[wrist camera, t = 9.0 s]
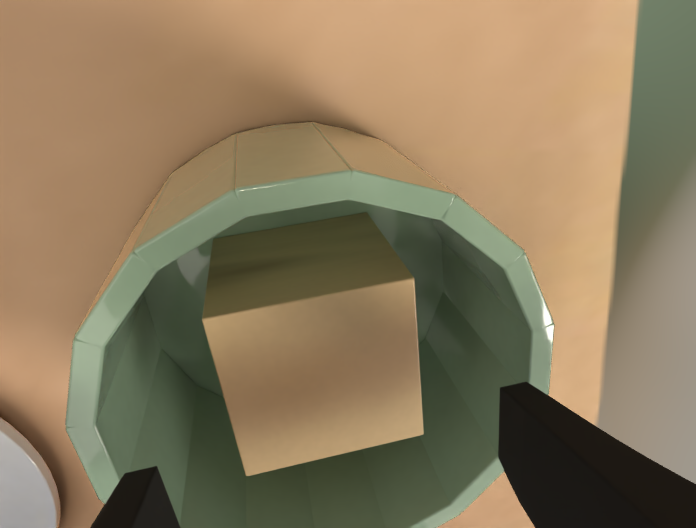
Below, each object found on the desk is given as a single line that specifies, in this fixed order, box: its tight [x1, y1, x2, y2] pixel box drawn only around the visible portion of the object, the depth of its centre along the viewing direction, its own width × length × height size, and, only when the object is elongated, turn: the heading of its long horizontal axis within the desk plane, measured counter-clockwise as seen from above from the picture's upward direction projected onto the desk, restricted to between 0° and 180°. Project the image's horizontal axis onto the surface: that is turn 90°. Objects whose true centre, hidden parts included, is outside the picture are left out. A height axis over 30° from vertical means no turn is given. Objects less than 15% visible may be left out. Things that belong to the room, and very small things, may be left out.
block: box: [202, 212, 424, 476], centre depth 15 cm, size 5×5×5 cm
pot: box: [65, 122, 554, 528], centre depth 14 cm, size 11×11×6 cm
